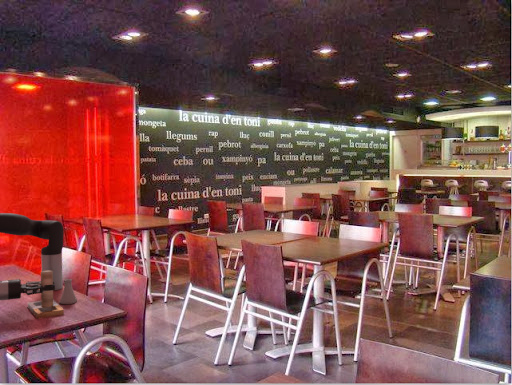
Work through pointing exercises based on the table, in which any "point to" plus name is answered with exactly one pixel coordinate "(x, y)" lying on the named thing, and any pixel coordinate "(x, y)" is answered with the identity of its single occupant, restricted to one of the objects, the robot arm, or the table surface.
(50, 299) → the wooden peg
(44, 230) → the robot arm
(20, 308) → the table surface
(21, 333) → the table surface
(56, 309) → the flat wooden frame
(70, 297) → the flask
